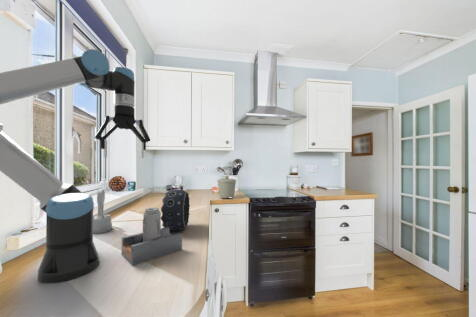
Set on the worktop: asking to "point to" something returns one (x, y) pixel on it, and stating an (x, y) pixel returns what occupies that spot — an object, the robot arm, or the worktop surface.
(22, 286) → the worktop surface
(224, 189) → the canister
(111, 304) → the worktop surface
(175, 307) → the worktop surface
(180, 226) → the black thick disc
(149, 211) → the energy drink can
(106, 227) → the engine component
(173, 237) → the channel
